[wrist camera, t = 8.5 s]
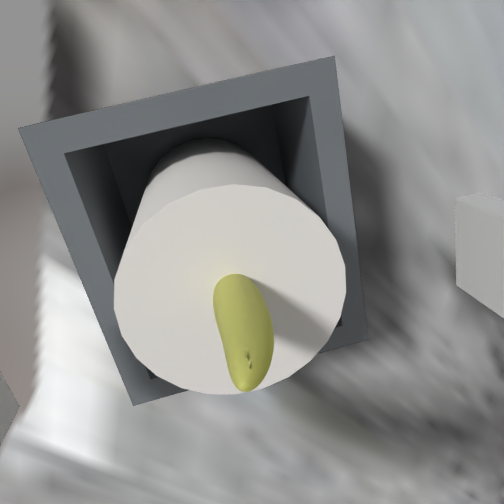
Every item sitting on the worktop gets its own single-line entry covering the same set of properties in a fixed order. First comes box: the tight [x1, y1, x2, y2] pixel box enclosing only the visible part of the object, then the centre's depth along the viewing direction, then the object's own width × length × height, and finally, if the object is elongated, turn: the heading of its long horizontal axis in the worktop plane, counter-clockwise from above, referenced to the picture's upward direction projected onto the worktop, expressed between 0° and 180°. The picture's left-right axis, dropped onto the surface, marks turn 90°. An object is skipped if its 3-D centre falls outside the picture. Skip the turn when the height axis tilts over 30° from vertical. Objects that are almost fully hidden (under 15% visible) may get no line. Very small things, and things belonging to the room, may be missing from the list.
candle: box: [114, 138, 346, 394], centre depth 14 cm, size 6×6×15 cm
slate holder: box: [18, 56, 368, 406], centre depth 18 cm, size 11×10×7 cm
